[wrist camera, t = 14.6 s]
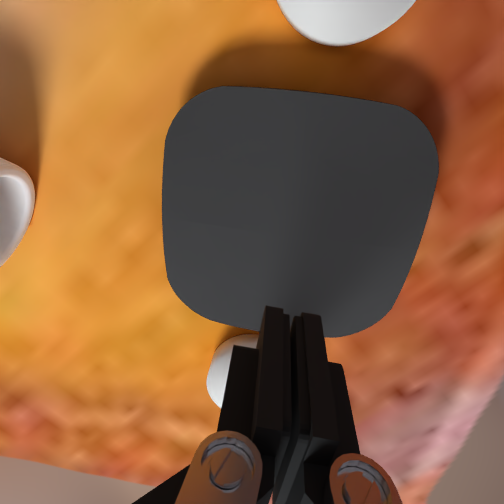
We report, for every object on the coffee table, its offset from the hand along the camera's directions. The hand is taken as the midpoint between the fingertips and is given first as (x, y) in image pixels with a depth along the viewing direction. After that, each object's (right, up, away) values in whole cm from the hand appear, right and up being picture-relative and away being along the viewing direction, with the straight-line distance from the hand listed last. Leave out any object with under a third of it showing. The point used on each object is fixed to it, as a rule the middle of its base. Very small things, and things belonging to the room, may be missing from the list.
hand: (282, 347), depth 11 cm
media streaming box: (+1, +5, +12) cm, 13 cm away
